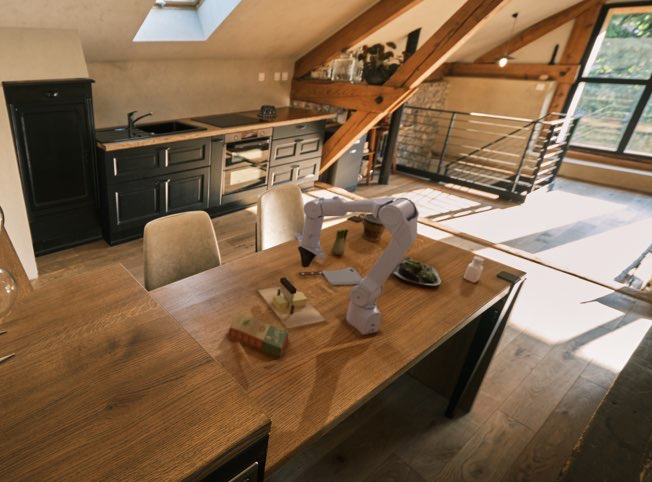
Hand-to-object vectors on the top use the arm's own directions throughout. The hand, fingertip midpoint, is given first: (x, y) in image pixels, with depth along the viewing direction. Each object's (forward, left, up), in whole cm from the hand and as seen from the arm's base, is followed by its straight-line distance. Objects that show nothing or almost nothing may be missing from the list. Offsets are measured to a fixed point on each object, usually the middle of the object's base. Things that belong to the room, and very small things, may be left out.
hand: (305, 266), depth 135 cm
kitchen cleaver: (+4, -16, -11) cm, 20 cm away
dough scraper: (-7, +11, -6) cm, 14 cm away
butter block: (-7, +7, -9) cm, 14 cm away
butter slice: (-7, +13, -9) cm, 18 cm away
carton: (-18, +27, -11) cm, 34 cm away
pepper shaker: (-11, -69, -11) cm, 71 cm away
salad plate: (-3, -49, -11) cm, 50 cm away
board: (-7, +9, -10) cm, 15 cm away
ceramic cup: (+28, -55, -11) cm, 63 cm away
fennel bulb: (+18, -30, -11) cm, 37 cm away
